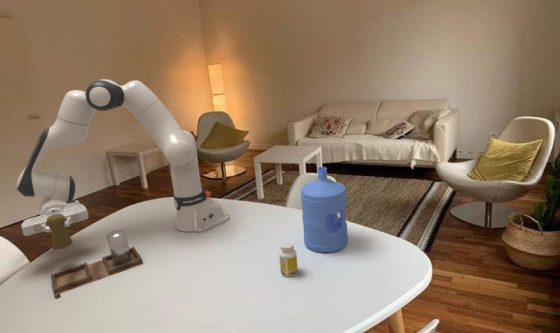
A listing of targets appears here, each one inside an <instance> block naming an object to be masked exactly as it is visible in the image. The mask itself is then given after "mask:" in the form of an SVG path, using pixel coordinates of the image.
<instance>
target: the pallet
mask: <svg viewBox="0 0 560 333" xmlns="http://www.w3.org/2000/svg"><path fill="white" fill-rule="evenodd" d="M129 250H130V254H131V259H132V261H130V262H127V263H124V264H122V265H119V266H114V265H113V261H112V256H111V254H109V255H105V256H102V257H101V259H102V260H98V261H95V262H93V263H89V264H88V263H87V262H84V263H81V264H80V263H79V264H78V265H75V266H74V265H73V266H71V267H69V268H65V269H63V270H59V271H56V272H54V273H50V279H51V280H50V281H51V284H52V285H51V286H52V290H53V293H54V297H55V299H59V298H61V297H62V295H61V294H63V293H66V292H68V291H72V290H74V289H77V288H80V287H83V286H86V285H89V284H91V283H94V282H96V281H100V280H103V279H105V278H108V277H112V276H114V275H116V274H120V273H123V272H126V271H129V270H131V269H134V268H136V267H140V266H143V265H144V262H143V258H142V257H141V255H140V254H139V252H138V251H137V250H136V248H135V246H133V247H129Z"/></svg>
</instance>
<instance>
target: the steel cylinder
mask: <svg viewBox="0 0 560 333" xmlns="http://www.w3.org/2000/svg"><path fill="white" fill-rule="evenodd" d="M106 239H107V242H108V248H109V251H110V255H111V256H112V261H113V265H114V266H119V265H122V264H124V263H127V262H130V261H132V259H131V254H130V250H129V248H130V246H129V240H128V237H127V233H126V229H121V228H120V229H119V228H118V229H114V230H112V231H110V232H108V233H107V234H106Z"/></svg>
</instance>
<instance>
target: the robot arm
mask: <svg viewBox="0 0 560 333" xmlns="http://www.w3.org/2000/svg"><path fill="white" fill-rule="evenodd" d="M121 106H122V107H125V108H126V109H127V110H129V112H130V113H131V114H132V115H133V117H135V119H137V121H138V122H139V123H140V124H141V125H142V126H143V128H144V129H145V130H146V131H147V132H148V133H149V135H150V136H151V137H152V139H153V140H154V142H155V144H156V145H157V146H158V148H159V150H160V151H161V152H162V154H163V155H164V157H165V158H166V160H167V162H169V163H170V164H169V165H170V177H171V184H172V189H173V203H174V207H175V210H176V220H175V222H176V224H175V229H176V230H177V231H179V232H184V233H186V232H198V233H202V232H204V231H206V230H209V229H211V228H213V227H215V226H218V225H220V224H222V223H225V222H227V221H229V220H230V218H231V217H230V214H229V212H227V211H226V210H224V209H223V207H222V205H221V204H220V203H219V202H218V201H217V200H215V199H213V198H210V197H211V196H212V193H211V191H208V190H206V189H203V188H202V184H201V177H200V168H199V158H198V150H197V143H196V138H195V136H194V135H193V134H192V133H191V132H190V131H187V130H185V129H184V130H183V129H182V127H180V125H179V124H178V122H177V121H176V119H175V117H174V115H173V114H172V113H171V111H169V109H168V108H167V107H166V106H165V105H164V103H163V102H162V101H161V99H159V97H158V96H157V95H156V94H155V93H154V91H152V90H151V89H150V88H149V87H148V86H147V85H146V84H144V82H143V81H140V80H131V81H128V82H127V83H125V84H123V85H122V84H120V82H117V81H115V80H114V79H106V78H103V79H98V80H95V81H91V83H90V84H89V85H88V86H87V88H86V89H85V91H84V90H80V89H79V90H77V89H73V90H69V91H67V93H66V94H65V95H64V98H63V100H62V101H61V104H60V107H59V110H58V113H57V116H56V119H55V121H54V123H53V124H52V125H51V126H50V127H48V128H45V129H43V130H42V132H41V133H40V135H39V136H38V139H37V141H36V142H35V144H34V147H33V149H32V151H31V153H30V155H29V157H28V159H27V162H26V163H25V165H24V167H23V170H22V171H21V172H20V174H19V175H18V177H17V180H16V191H18V193H20V194H21V195H22V196H23V197H27V198H28V197H29V198H30V197H31V198H35V197H37V198H41V199H40V202H39V204H38V205H39V206H38V207H39V208H38V209H39V215H37V216H34V217H30V218H27V219H25V220H23V222H22V223H21V224H20V225H21V226H20V227H21V231H22V234H23V236H26V237H29V236H31V235H34V234H35V235H36V234H39V233H42V232H46V233H47V234H48V233H51V227H50V226H49V225H48V224H47V218H48V217H49V216H51V215H53V214H62V215H63V216H64V218H65V221H64V225H65V228H66V229H67V228H70V225H71V224H74V223H78V222H81V221H85V220H88V219H89V217H90V216H89V212H88V209H87V207H86V206H85V205H84V204H83V203H81V202H80V201H79V200H74V197H75V193H76V182H75V179H74V178H73V177H72V176H71V175H70V174H67V173H60V172H53V171H46V170H40V166H41V165H42V162H43V160H44V158H45V156H46V154H47V152H48V151H49V150H52V149H53V148H57V147H64V146H70V145H75V144H78V143H80V142H82V141H84V139H86V138H87V136H88V134H89V131H90V129H91V124H92V120H93V116H94V114H95V112H96V111H100V112H106V111H112V110H114V109H116V108H119V107H121Z"/></svg>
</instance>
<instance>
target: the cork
mask: <svg viewBox="0 0 560 333" xmlns="http://www.w3.org/2000/svg"><path fill="white" fill-rule="evenodd" d="M64 221H65V218H64V216H63V215H62V214H53V215H51V216H49V217H48V218H47V224H48V225H49V226H50V227H51V232H50V234H51V244H52V249H54V250H62V249H65V248H67V247H70V246H71V245H72V244H73V240H72V237H71V236H70V233H69V231H68V229H67V227H66V228H65V225H64Z"/></svg>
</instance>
